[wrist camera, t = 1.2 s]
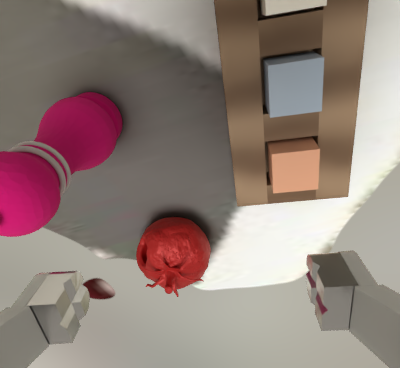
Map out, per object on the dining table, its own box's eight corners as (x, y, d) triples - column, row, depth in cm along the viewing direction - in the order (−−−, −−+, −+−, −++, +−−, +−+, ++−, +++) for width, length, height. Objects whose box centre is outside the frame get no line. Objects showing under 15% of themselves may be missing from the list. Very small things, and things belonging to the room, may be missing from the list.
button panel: (206, -77, 25) (203, -90, 22) (359, -111, 24) (382, -130, 20) (236, 188, 38) (237, 206, 35) (336, 178, 36) (348, 196, 33)
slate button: (263, 59, 28) (267, 65, 25) (313, 51, 27) (324, 57, 24) (265, 106, 30) (270, 117, 27) (311, 100, 29) (321, 111, 26)
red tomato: (202, 200, 40) (198, 249, 32) (218, 256, 45) (218, 311, 36) (131, 213, 41) (111, 262, 33) (154, 266, 46) (141, 320, 38)
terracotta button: (267, 140, 32) (271, 154, 29) (310, 134, 31) (320, 148, 28) (268, 176, 34) (273, 193, 31) (309, 172, 33) (318, 189, 30)
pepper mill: (105, 76, 32) (-29, 160, 15) (138, 136, 35) (58, 261, 18) (51, 101, 34) (-124, 202, 17) (87, 156, 37) (-30, 286, 20)
